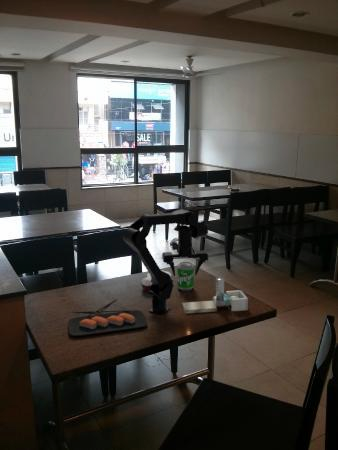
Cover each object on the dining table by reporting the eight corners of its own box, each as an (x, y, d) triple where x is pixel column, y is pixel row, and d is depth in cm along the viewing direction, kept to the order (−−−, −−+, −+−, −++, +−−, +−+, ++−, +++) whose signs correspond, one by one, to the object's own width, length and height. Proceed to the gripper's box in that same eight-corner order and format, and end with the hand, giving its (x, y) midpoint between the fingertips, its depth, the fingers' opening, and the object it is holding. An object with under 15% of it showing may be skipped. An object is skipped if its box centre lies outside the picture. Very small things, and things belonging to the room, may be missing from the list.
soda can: (174, 286, 191) (174, 262, 188) (188, 284, 194) (189, 260, 192) (181, 292, 185) (182, 267, 182) (196, 289, 188) (196, 265, 185)
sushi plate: (69, 341, 145) (68, 331, 144) (66, 306, 173) (66, 297, 172) (149, 330, 152) (149, 320, 151) (134, 298, 180) (134, 290, 179)
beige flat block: (185, 313, 164) (185, 310, 164) (182, 306, 171) (182, 302, 170) (216, 311, 166) (216, 307, 165) (212, 304, 173) (212, 300, 172)
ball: (231, 302, 166) (239, 308, 168) (235, 293, 168) (243, 298, 170) (225, 303, 170) (233, 309, 171) (228, 294, 172) (236, 299, 173)
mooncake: (148, 286, 193) (148, 278, 192) (145, 277, 205) (145, 270, 204) (173, 284, 195) (173, 277, 194) (168, 275, 207) (168, 268, 206)
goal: (232, 311, 166) (232, 299, 165) (225, 302, 174) (226, 291, 173) (247, 310, 167) (248, 298, 166) (240, 301, 175) (240, 290, 174)
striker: (216, 306, 166) (216, 282, 163) (212, 300, 172) (213, 276, 169) (229, 305, 167) (230, 281, 164) (225, 299, 172) (226, 276, 170)
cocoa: (139, 289, 190) (137, 264, 187) (151, 286, 192) (149, 262, 190) (147, 295, 181) (145, 270, 179) (160, 292, 184) (158, 267, 181)
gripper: (202, 234, 177) (202, 268, 181) (160, 236, 175) (160, 270, 178) (208, 241, 167) (208, 277, 170) (163, 243, 164) (164, 279, 168)
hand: (184, 275), depth 172 cm, fingers open, 9 cm apart
